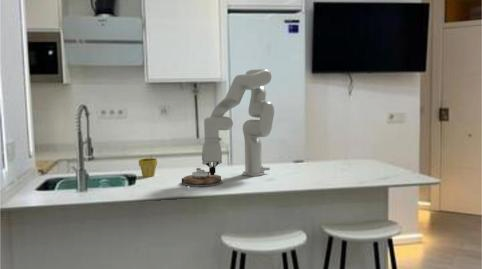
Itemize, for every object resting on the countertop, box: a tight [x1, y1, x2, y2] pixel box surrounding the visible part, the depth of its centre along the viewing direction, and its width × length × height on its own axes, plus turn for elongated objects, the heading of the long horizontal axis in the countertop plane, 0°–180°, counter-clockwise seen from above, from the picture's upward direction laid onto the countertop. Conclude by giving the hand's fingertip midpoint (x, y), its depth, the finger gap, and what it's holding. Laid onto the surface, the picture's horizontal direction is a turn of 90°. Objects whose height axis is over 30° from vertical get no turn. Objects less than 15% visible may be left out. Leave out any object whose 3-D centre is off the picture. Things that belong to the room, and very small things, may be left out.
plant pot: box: [138, 157, 158, 178], centre depth 283 cm, size 10×10×10 cm
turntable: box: [182, 167, 222, 185], centre depth 261 cm, size 20×20×5 cm
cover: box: [191, 169, 210, 179], centre depth 260 cm, size 9×9×4 cm
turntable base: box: [181, 177, 224, 188], centre depth 261 cm, size 22×22×3 cm
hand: (212, 174), depth 262 cm, fingers closed
